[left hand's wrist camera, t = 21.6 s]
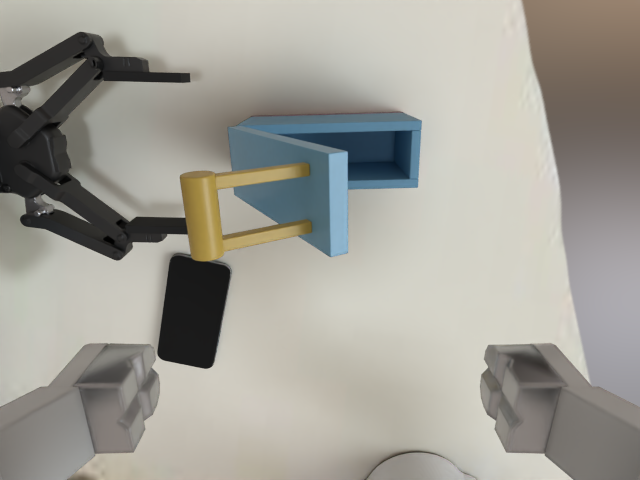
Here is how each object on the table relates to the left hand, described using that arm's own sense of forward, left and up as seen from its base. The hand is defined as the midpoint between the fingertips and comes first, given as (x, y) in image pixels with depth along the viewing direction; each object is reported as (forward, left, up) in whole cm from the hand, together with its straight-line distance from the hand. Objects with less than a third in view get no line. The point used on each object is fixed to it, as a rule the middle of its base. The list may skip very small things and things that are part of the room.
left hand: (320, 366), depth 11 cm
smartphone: (-19, +18, -38) cm, 46 cm away
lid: (0, +3, -21) cm, 21 cm away
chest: (0, -1, -38) cm, 38 cm away
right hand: (+1, +12, -31) cm, 33 cm away
